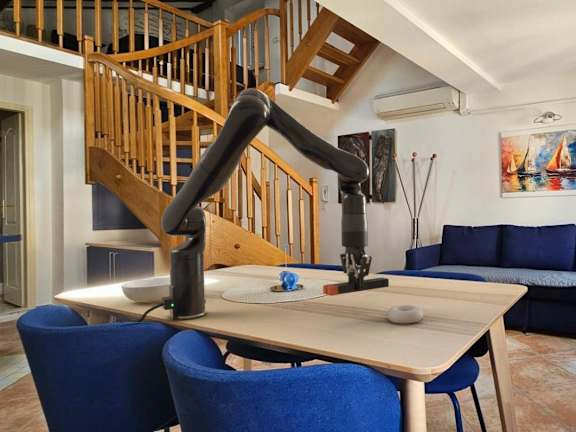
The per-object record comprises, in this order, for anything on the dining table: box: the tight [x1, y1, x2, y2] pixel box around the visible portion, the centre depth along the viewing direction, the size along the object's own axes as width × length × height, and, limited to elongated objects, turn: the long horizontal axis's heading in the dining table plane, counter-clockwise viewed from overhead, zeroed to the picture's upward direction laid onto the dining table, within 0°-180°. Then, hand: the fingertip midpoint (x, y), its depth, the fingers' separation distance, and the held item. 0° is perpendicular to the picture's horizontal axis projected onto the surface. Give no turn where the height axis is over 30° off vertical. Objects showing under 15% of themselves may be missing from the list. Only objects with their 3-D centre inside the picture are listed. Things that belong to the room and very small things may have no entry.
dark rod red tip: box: [322, 277, 390, 297], centre depth 120 cm, size 20×4×2 cm, turn 126°
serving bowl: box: [121, 276, 170, 304], centre depth 149 cm, size 21×21×7 cm
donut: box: [386, 304, 424, 325], centre depth 115 cm, size 10×4×10 cm
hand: (356, 289), depth 119 cm, fingers closed on dark rod red tip, 3 cm apart
